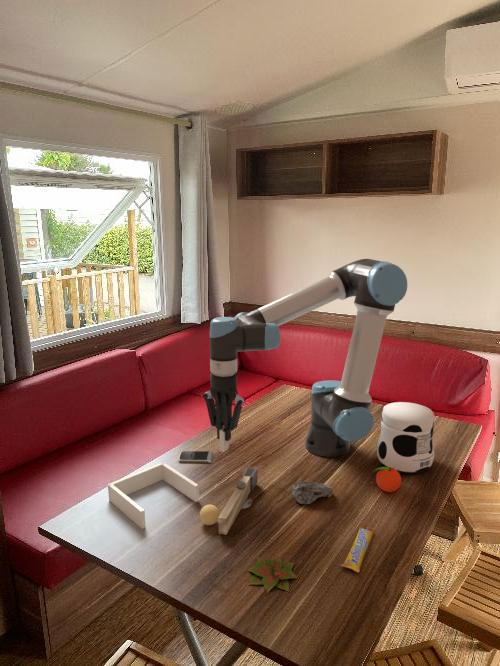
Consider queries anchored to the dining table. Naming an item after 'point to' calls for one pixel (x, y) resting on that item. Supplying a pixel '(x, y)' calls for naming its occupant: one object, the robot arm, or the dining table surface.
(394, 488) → the clementine
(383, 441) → the milk container
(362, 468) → the dining table surface
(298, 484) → the fossilized seashell
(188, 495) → the frame
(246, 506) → the pivot disc
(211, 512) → the ball
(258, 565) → the lily flower
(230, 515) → the lever
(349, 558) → the candy bar
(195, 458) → the cell phone
